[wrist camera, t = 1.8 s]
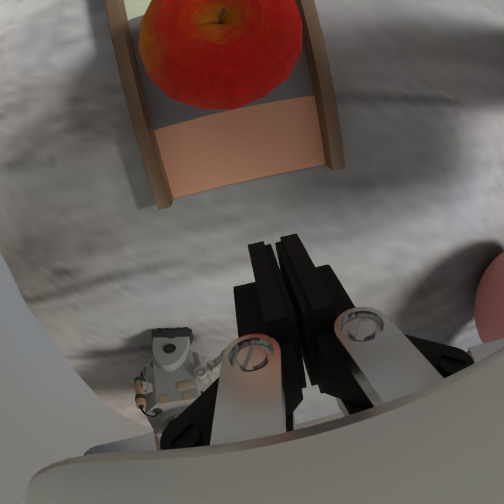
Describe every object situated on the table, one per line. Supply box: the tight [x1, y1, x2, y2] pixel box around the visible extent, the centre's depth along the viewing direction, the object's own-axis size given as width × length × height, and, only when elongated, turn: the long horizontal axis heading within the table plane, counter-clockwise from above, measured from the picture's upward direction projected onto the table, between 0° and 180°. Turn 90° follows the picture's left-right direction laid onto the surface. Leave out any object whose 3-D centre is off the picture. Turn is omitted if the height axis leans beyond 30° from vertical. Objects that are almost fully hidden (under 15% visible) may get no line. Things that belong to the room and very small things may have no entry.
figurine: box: [135, 327, 225, 435], centre depth 28 cm, size 9×12×15 cm
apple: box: [138, 0, 302, 110], centre depth 15 cm, size 9×9×12 cm
